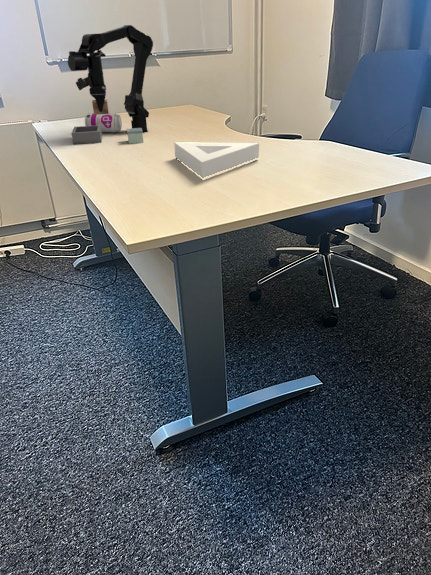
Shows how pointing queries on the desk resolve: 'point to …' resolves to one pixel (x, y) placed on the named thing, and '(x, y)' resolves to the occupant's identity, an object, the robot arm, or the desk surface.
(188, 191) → the desk surface
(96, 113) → the walnut block
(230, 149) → the triangle block
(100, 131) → the tote
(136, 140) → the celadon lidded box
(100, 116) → the supplement can
